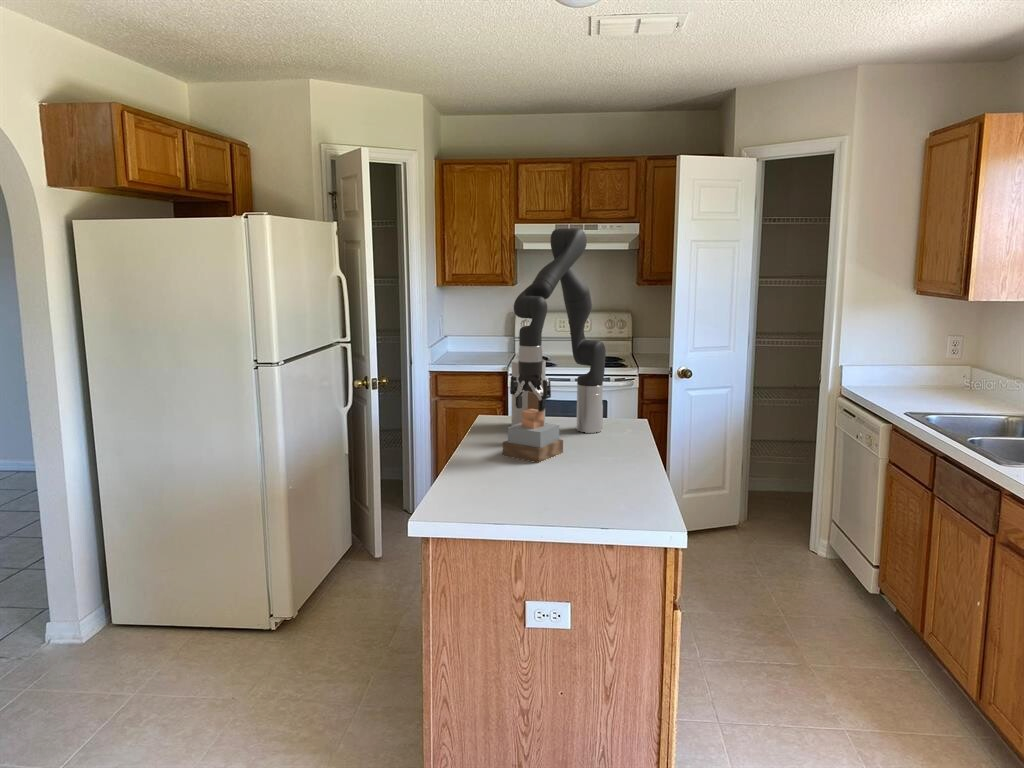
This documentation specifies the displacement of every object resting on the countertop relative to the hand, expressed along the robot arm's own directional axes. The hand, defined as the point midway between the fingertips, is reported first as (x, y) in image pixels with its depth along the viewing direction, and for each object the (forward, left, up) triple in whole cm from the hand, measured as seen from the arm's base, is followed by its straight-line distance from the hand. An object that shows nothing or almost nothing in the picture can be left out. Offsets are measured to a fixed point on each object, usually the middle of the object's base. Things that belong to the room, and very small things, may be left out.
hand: (530, 409), depth 236 cm
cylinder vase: (-31, -23, -15) cm, 41 cm away
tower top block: (-1, +1, -10) cm, 10 cm away
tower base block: (-1, +1, -15) cm, 15 cm away
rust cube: (0, +1, -5) cm, 5 cm away
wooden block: (-15, -6, -15) cm, 22 cm away
